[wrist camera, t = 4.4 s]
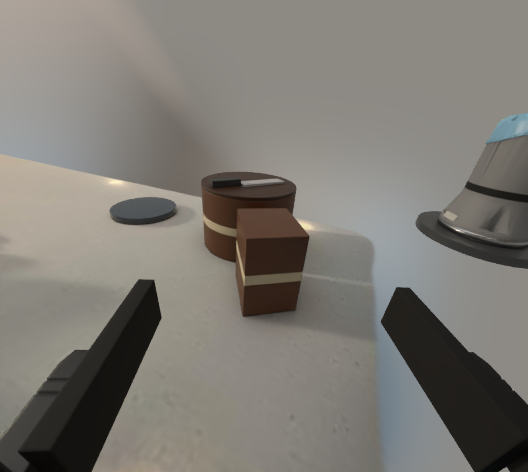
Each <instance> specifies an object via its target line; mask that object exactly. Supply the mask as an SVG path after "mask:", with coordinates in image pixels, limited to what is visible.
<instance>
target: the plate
mask: <svg viewBox="0 0 528 472" xmlns="http://www.w3.org/2000/svg"><path fill="white" fill-rule="evenodd" d="M175 213H176V204H175V203H174V202H173V201H171V200H168V199H164V198H156V197H144V198H135V199H130V200H125V201H122V202H119V203H117V204H115V205H113V206H112V207H111V208H110V215H111V218H112V219H113V220H115V221H117V222H120V223H124V224H148V223H154V222H159V221H162V220H165V219H168V218H170V217H172V216H173V215H174V214H175Z"/></svg>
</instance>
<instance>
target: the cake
mask: <svg viewBox="0 0 528 472" xmlns="http://www.w3.org/2000/svg"><path fill="white" fill-rule="evenodd" d="M201 186H202V204H203V221H204V239H205V245H206V247H207V249H208V250H209V251H210V252H211V253H213V254H214V255H216V256H218V257H220V258H222V259H225V260H229V261H233V262H236V241H237V209H256V208H287V210H288V211H289V212H290V213H291V214H293V208H294V201H295V194H296V186H295V184H294V183H292V182H291V181H288V180H286V179H284V178H281V177H277V176H273V175H268V174H262V173H253V172H225V173H218V174H213V175H210V176H207V177H205V178H203V179H202V181H201Z"/></svg>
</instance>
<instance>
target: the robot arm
mask: <svg viewBox="0 0 528 472" xmlns="http://www.w3.org/2000/svg"><path fill="white" fill-rule="evenodd" d="M486 144H487V145H486V147H485V149H484V151H483V153H482V154H481V156H480V158H479V160H478V162H477V164H476V166H475V168H474V170H473V172H472V174H471V176H470V177H469V180H468V182H467V183H466V185H465V187H464V189H463V191H462V192H461V193H460V194H459V195H458V196H457V197H456V198H455V199H454V200H453V201H452V202H451V203H450V204H449V205H448V206H447V207H446V208H445V209H444V210H443V211H442V212H441V214H440V216H439V218H438V220H437V222H438V223H439V224H440V225H441V226H442V227H443V228H445V229H447V230H448V231H450V232H452V233H455V234H457V235H459V236H462V237H464V238H467V239H470V240H473V241H476V242H480V243H483V244H487V245H491V246H496V247H501V248H508V249H524V248H527V247H528V113H526V114H517V115H512V116H509V117H507V118H504V119H503V120H501V121H500V122H499V124H498V125H497V126H496V128H495V129H494V131H493V133H492V135H491V136H490V138H489V140H488V141H486ZM161 318H162V317H161V312H160V307H159V302H158V297H157V292H156V287H155V282H154V280H142V279H139V280H138V281H137V282H136V284H135V285H134V287H133V288H132V290H131V291H130V292H129V294H128V295H127V297H126V298H125V299H124V301H123V302H122V304H121V305H120V307H119V308H118V309H117V311H116V312H115V314H114V315H113V317H112V318H111V319H110V321H109V322H108V324H107V325H106V326H105V328H104V329H103V331H102V332H101V334H100V335H99V336H98V338H97V339H96V341H95V342H94V343H93V345H92V346H91V348H90V349H89V350H75V351H73V352H72V353H71V354H70V355H68V356H67V357H66V358H65V359H64V360H62V361H61V362H60V363H59V364H58V365H57V367H56V368H55V369H54V370H53V372H52V373H51V374H50V375H49V377H48V378H47V381H45V382H44V383H43V384H42V386H41V387H40V388H39V389H38V391H37V394H36V395H34V396H33V397H32V398H31V400H30V401H29V402H28V403H27V405H26V406H25V407H24V408H23V410H22V411H21V412H20V414H19V415H18V416H17V417H16V419H15V420H14V421H13V422H12V424H11V425H10V426H9V428H8V429H7V430H6V431H5V433H4V434H3V435H2V436H1V438H0V472H92V470H93V467H94V465H95V463H96V461H97V459H98V456H99V454H100V452H101V450H102V448H103V445H104V443H105V441H106V439H107V437H108V434H109V432H110V430H111V428H112V426H113V423H114V421H115V419H116V417H117V415H118V412H119V410H120V408H121V406H122V404H123V401H124V399H125V397H126V395H127V393H128V390H129V388H130V386H131V384H132V382H133V379H134V377H135V375H136V373H137V371H138V368H139V366H140V364H141V362H142V360H143V358H144V355H145V353H146V351H147V349H148V347H149V344H150V342H151V340H152V338H153V336H154V333H155V331H156V329H157V327H158V325H159V322H160V320H161ZM381 323H382V325H383V326H384V328H385V330H386V331H387V333H388V334H389V336H390V337H391V339H392V341H393V342H394V344H395V346H396V347H397V349H398V350H399V352H400V354H401V355H402V357H403V358H404V360H405V361H406V363H407V365H408V366H409V368H410V370H411V371H412V373H413V374H414V376H415V377H416V379H417V381H418V382H419V384H420V385H421V387H422V389H423V390H424V392H425V393H426V395H427V397H428V398H429V400H430V402H431V403H432V405H433V406H434V408H435V410H436V411H437V413H438V414H439V416H440V417H441V419H442V421H443V422H444V424H445V425H446V427H447V429H448V430H449V432H450V433H451V435H452V437H453V438H454V440H455V441H456V443H457V445H458V446H459V448H460V449H461V451H462V453H463V454H464V456H465V457H466V459H467V461H468V462H469V464H470V465H471V467H472V469H473V470H474V472H499V471H500V470H502V469H503V468H505V467H507V468H508V469H509V471H510V472H528V404H526V402H525V401H524V400H523V399H522V398H521V397H520V396H519V395H518V394H517V393H516V392H515V391H513V390H512V388H511V387H510V386H509V385H508V384H507V383H506V381H505V380H502V379H501V376H500V375H499V374H498V373H497V372H496V371H495V370H494V369H493V368H492V367H491V366H490V365H489V364H488V363H487V362H485V361H484V360H483V359H482V358H480V357H479V356H477V355H476V354H475V353H474V352H468V351H467V350H466V349H465V348H464V346H463V345H462V344H461V343H460V342H459V341H458V340H457V339H456V338H455V337H454V336H453V335H452V333H450V331H449V330H448V329H447V328H446V327H445V326H444V325H443V324H442V323H441V322H440V320H439V319H438V318H437V317H436V316H435V315H434V314H433V313H432V312H431V311H430V309H429V308H427V306H426V305H425V304H424V303H423V302H422V301H421V300H420V299H419V298H418V296H417V295H416V294H415V293H414V292H413V291H412V290H411V289H410V288H401V287H397V288H396V290H395V292H394V294H393V296H392V298H391V300H390V303H389V305H388V307H387V309H386V311H385V313H384V316H383V318H382V320H381Z"/></svg>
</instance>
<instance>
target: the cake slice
mask: <svg viewBox="0 0 528 472" xmlns="http://www.w3.org/2000/svg"><path fill="white" fill-rule="evenodd" d="M308 241H309V235H308V234H307V233H306V231H305V230H304V229H303V228H302V227H301V225H300V224H299V223H298V222H297V220H296V219H295V218H294V217H293V216H292V214H291V213H290V212H289V211H288V210H287V208H256V209H237V241H236V279H237V285H238V291H239V297H240V303H241V309H242V314H243V316H250V315H258V314H267V313H275V312H284V311H292V310H295V308H296V303H297V298H298V293H299V288H300V283H301V277H302V271H303V267H304V262H305V256H306V251H307V246H308Z"/></svg>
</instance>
